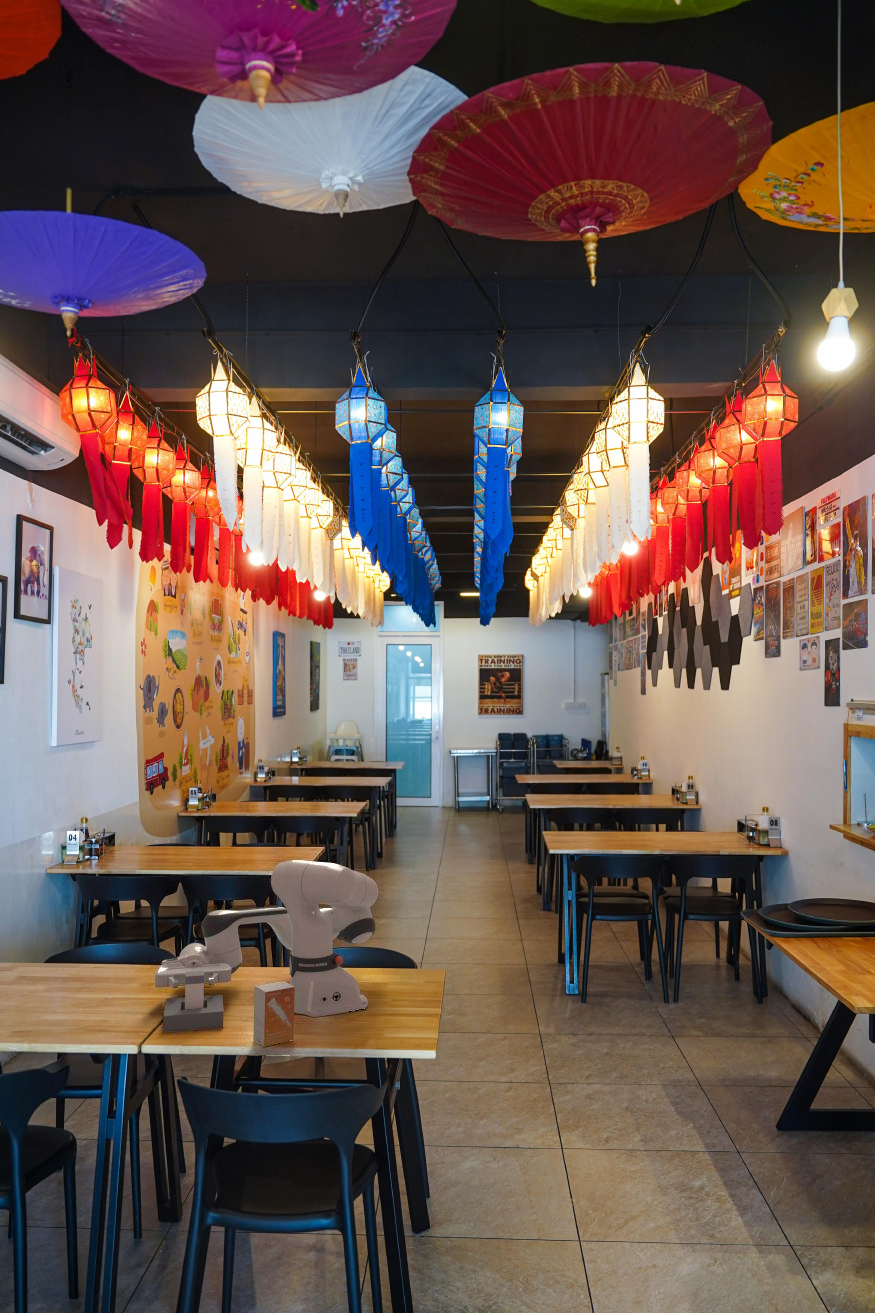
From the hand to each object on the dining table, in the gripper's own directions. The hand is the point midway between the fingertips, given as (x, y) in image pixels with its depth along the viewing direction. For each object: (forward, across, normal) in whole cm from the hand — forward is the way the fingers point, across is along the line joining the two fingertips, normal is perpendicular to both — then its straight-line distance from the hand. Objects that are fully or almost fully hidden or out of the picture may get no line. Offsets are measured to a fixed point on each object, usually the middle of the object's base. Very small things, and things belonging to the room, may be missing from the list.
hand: (193, 983), depth 237 cm
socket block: (+6, 0, -8) cm, 10 cm away
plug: (+6, 0, -8) cm, 10 cm away
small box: (+26, -19, -8) cm, 33 cm away
